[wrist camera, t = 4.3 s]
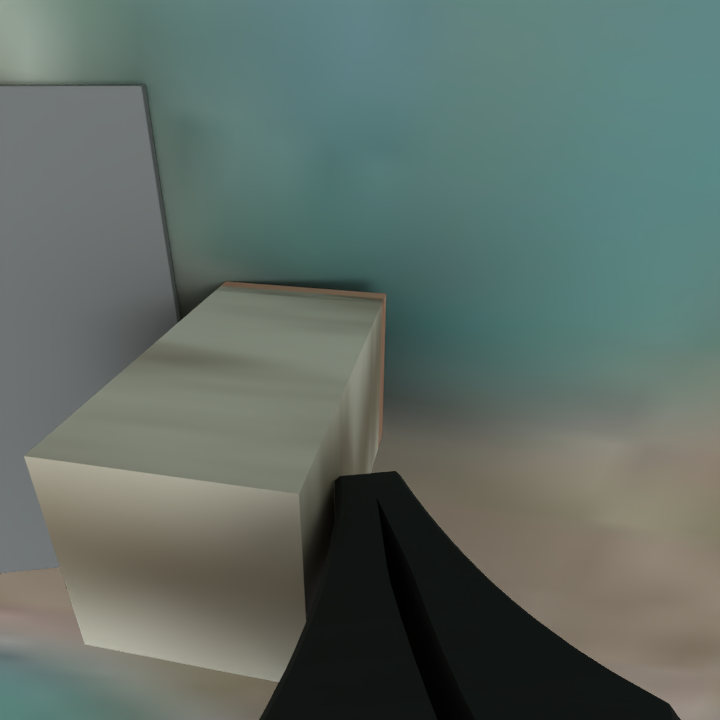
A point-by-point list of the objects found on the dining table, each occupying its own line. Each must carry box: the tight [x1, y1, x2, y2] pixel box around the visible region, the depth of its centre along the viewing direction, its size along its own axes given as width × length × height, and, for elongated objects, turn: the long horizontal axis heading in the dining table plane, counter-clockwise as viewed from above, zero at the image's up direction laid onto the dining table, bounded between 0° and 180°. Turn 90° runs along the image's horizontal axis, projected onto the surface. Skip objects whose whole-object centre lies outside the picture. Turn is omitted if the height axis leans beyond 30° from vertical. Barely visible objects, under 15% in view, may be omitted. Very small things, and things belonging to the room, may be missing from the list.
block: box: [24, 282, 386, 682], centre depth 15 cm, size 5×5×9 cm
